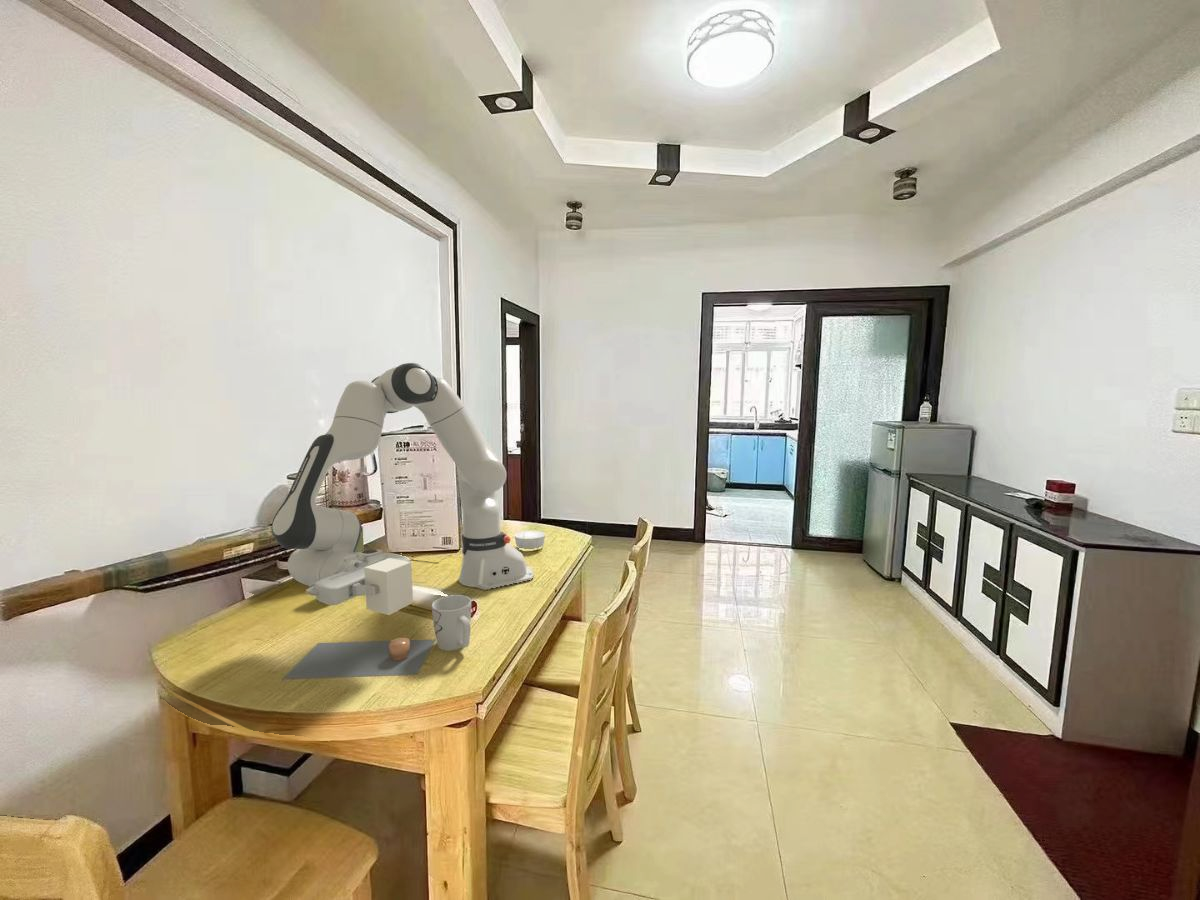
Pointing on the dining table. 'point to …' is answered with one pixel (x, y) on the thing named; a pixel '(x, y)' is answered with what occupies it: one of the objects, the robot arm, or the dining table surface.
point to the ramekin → (530, 539)
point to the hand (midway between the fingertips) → (392, 583)
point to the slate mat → (359, 660)
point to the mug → (452, 621)
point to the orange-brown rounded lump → (399, 648)
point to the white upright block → (389, 585)
